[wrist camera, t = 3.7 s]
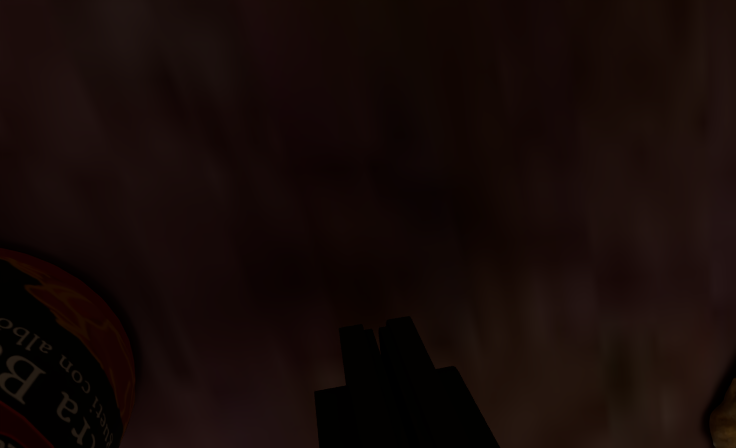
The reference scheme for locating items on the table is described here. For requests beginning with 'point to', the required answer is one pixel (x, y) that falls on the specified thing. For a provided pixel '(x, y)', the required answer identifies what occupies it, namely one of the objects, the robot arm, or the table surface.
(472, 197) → the table surface
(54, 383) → the canned food
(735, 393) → the bagel
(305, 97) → the table surface
